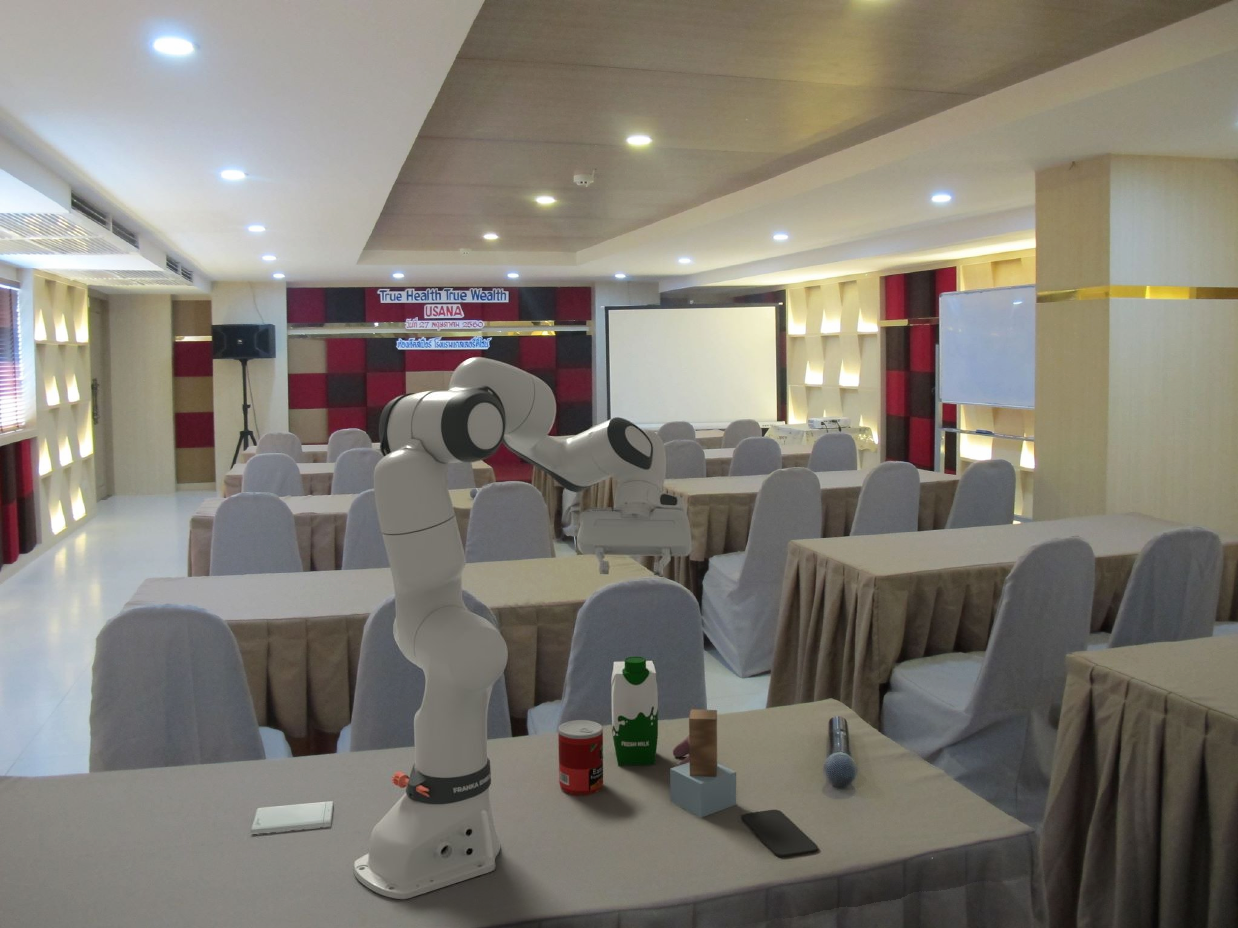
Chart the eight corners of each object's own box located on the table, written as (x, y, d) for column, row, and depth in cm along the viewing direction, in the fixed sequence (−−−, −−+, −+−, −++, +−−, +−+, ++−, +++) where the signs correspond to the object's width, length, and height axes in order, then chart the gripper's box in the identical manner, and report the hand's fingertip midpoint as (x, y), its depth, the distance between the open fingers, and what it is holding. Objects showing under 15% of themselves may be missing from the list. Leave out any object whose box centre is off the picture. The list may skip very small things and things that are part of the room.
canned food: (598, 797, 177) (597, 736, 176) (554, 793, 178) (553, 733, 177) (607, 779, 184) (607, 720, 183) (565, 776, 186) (564, 718, 185)
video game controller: (696, 784, 185) (714, 751, 185) (674, 773, 185) (691, 740, 185) (691, 762, 195) (708, 731, 195) (670, 752, 195) (686, 721, 194)
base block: (701, 818, 169) (700, 783, 168) (670, 801, 175) (670, 768, 174) (736, 805, 173) (736, 771, 173) (704, 789, 180) (704, 757, 179)
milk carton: (613, 767, 189) (612, 663, 187) (611, 749, 198) (610, 649, 196) (660, 766, 190) (659, 662, 187) (655, 747, 199) (655, 648, 196)
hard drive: (250, 828, 164) (330, 820, 166) (257, 806, 172) (333, 798, 174) (251, 838, 164) (330, 829, 167) (257, 816, 172) (333, 808, 175)
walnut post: (689, 775, 171) (689, 718, 170) (691, 764, 176) (690, 709, 175) (716, 776, 171) (715, 719, 170) (717, 765, 175) (716, 709, 174)
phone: (778, 808, 171) (821, 848, 157) (778, 813, 171) (821, 853, 157) (738, 814, 169) (777, 855, 155) (738, 819, 169) (777, 860, 155)
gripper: (578, 497, 182) (568, 561, 173) (692, 498, 179) (688, 564, 170) (583, 517, 187) (574, 581, 178) (694, 519, 184) (690, 584, 175)
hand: (630, 573), depth 174 cm, fingers open, 8 cm apart
